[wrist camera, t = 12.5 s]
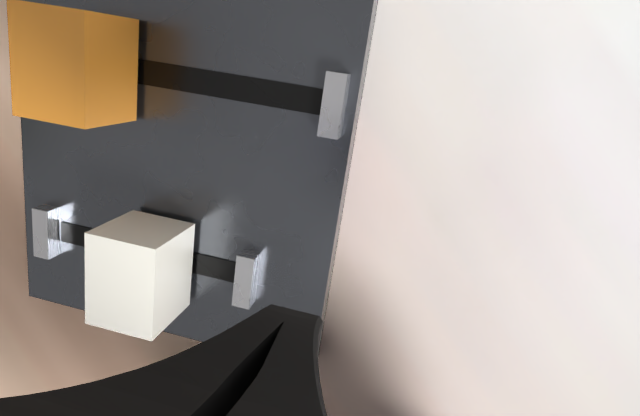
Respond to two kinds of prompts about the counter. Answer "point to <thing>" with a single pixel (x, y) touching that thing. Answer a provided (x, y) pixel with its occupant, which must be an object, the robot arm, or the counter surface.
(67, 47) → the fader
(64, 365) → the counter surface
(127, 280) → the fader
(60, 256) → the mixer panel
